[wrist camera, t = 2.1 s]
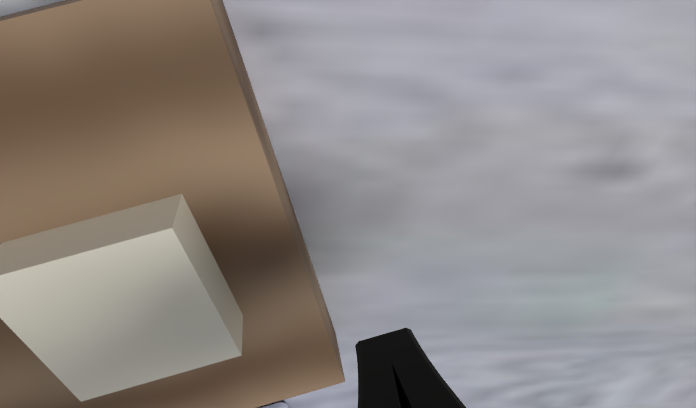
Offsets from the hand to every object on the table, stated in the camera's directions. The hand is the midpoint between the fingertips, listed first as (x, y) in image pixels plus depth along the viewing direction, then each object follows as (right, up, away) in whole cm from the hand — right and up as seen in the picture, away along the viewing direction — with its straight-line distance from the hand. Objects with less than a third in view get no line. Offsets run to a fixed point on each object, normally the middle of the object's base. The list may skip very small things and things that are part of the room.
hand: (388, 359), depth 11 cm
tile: (-9, +1, +5) cm, 10 cm away
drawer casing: (-11, +2, +7) cm, 14 cm away
